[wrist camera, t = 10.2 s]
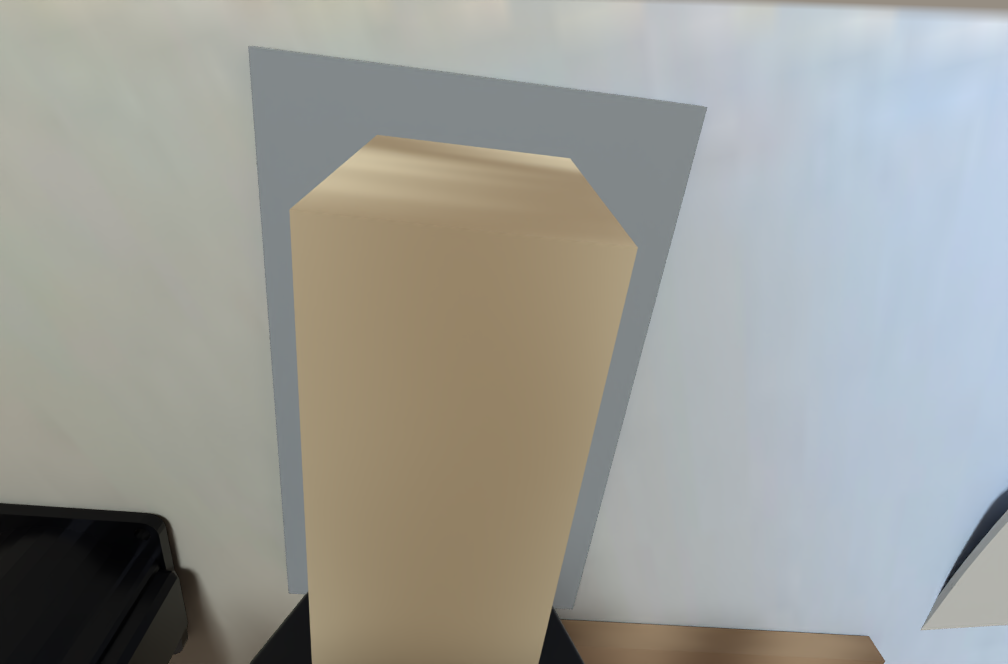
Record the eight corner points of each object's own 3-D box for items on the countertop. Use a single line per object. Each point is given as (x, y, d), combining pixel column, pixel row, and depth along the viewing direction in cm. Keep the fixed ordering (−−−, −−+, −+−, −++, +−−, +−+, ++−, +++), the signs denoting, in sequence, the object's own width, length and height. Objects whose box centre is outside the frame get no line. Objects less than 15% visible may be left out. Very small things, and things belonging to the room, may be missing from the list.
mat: (291, 586, 20) (288, 593, 20) (253, 46, 12) (248, 46, 12) (571, 602, 21) (572, 609, 20) (702, 106, 13) (707, 107, 13)
